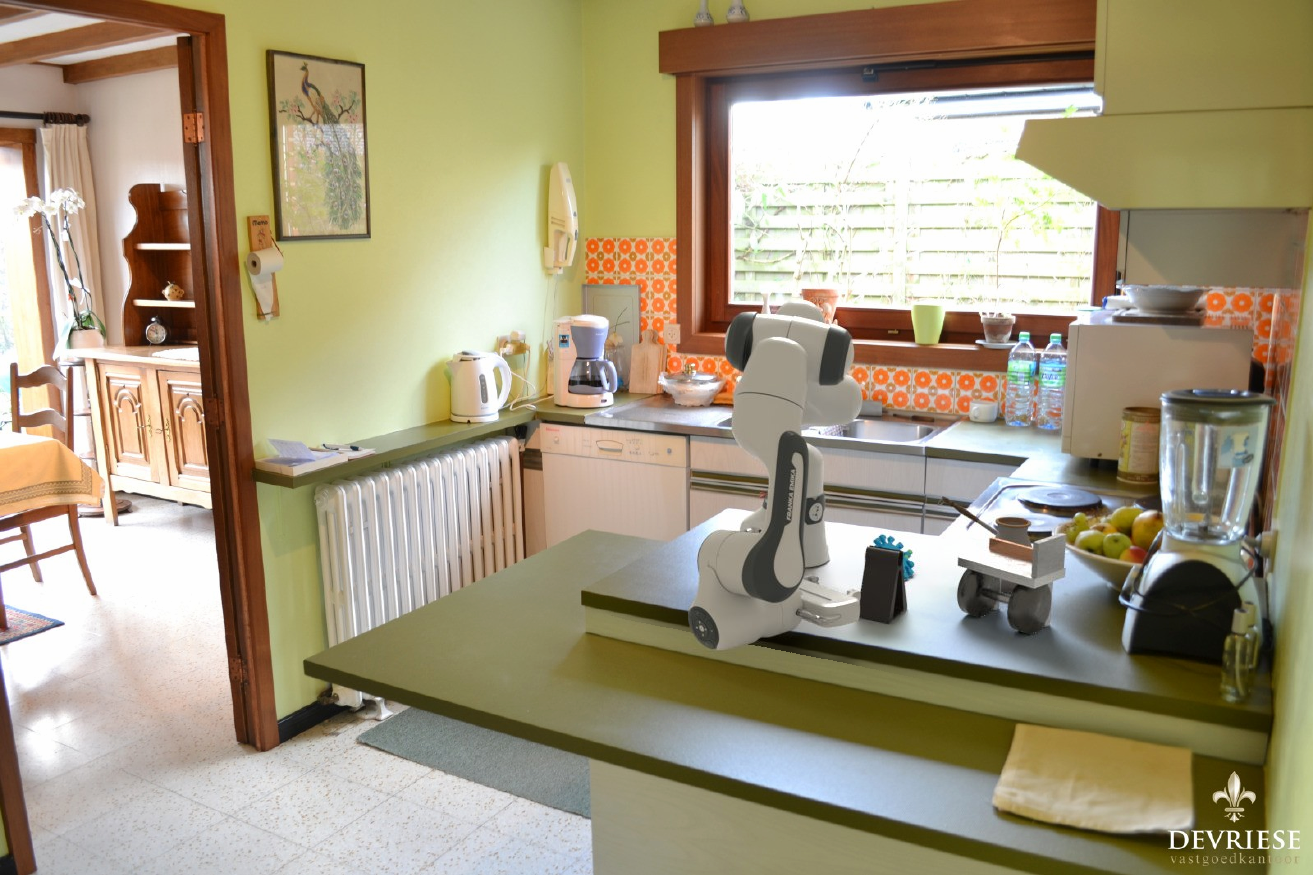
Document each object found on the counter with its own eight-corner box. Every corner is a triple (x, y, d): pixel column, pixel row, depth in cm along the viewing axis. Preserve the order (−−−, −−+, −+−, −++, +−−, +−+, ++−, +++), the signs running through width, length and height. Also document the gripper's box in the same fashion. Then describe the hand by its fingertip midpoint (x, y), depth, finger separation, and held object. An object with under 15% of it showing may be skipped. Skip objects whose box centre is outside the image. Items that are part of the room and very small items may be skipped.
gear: (893, 578, 194) (868, 533, 199) (873, 593, 198) (849, 549, 202) (928, 573, 201) (903, 530, 206) (908, 588, 205) (884, 546, 209)
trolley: (949, 616, 179) (954, 525, 176) (985, 602, 185) (990, 514, 182) (1025, 642, 167) (1031, 545, 164) (1061, 627, 174) (1068, 533, 170)
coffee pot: (1052, 586, 194) (1057, 510, 191) (1023, 601, 186) (1028, 522, 183) (951, 561, 209) (955, 490, 206) (921, 574, 201) (924, 501, 198)
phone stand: (888, 624, 176) (891, 558, 173) (856, 617, 179) (858, 552, 177) (907, 608, 183) (910, 544, 181) (876, 602, 186) (878, 539, 184)
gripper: (824, 604, 155) (884, 585, 163) (735, 571, 171) (794, 555, 179) (823, 643, 156) (883, 622, 165) (735, 606, 172) (793, 589, 181)
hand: (836, 587), depth 172 cm, fingers open, 8 cm apart
